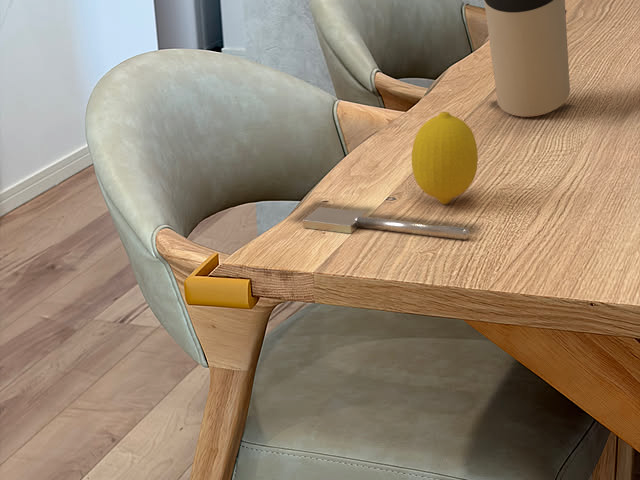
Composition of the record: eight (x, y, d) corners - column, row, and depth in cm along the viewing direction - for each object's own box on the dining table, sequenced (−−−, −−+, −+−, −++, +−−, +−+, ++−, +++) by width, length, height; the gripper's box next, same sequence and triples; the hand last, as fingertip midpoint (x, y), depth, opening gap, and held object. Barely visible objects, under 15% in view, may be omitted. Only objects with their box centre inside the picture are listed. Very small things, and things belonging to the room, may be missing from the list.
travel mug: (523, 128, 98) (507, -24, 85) (483, 96, 104) (463, -51, 91) (584, 96, 99) (578, -59, 86) (542, 66, 105) (530, -84, 92)
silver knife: (475, 232, 72) (475, 221, 72) (463, 247, 70) (463, 236, 69) (319, 214, 78) (319, 204, 78) (303, 227, 75) (302, 217, 75)
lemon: (425, 190, 82) (424, 101, 78) (485, 195, 79) (487, 105, 76) (402, 211, 77) (400, 118, 74) (465, 218, 75) (466, 123, 71)
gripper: (533, -154, 100) (524, 62, 111) (500, -148, 90) (493, 90, 101) (603, -158, 97) (586, 65, 108) (576, -152, 87) (561, 94, 98)
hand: (541, 77), depth 105 cm, fingers closed
